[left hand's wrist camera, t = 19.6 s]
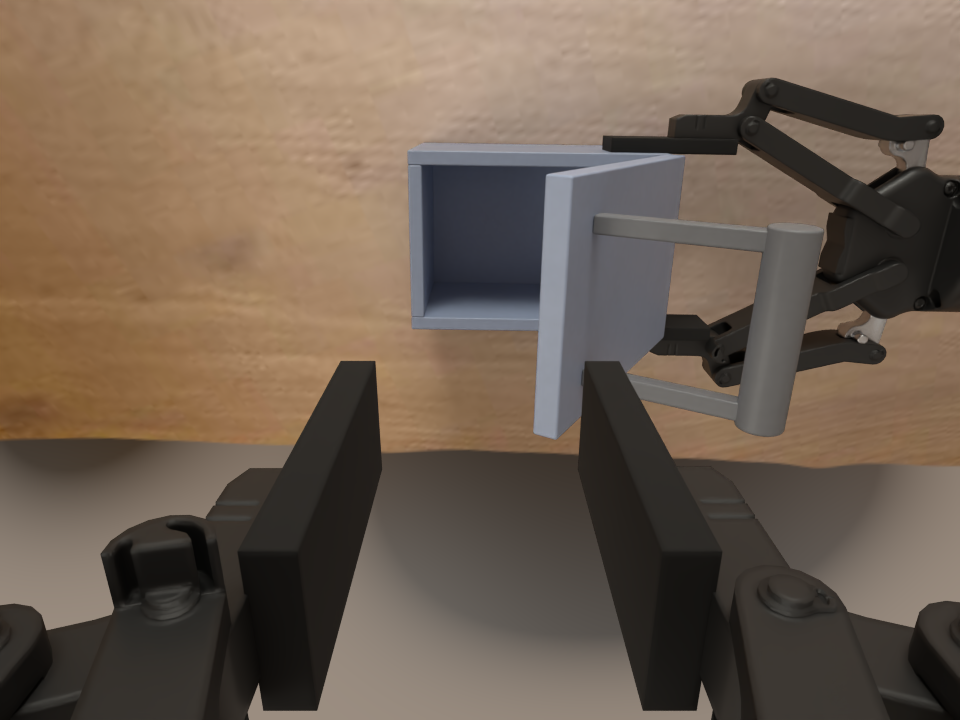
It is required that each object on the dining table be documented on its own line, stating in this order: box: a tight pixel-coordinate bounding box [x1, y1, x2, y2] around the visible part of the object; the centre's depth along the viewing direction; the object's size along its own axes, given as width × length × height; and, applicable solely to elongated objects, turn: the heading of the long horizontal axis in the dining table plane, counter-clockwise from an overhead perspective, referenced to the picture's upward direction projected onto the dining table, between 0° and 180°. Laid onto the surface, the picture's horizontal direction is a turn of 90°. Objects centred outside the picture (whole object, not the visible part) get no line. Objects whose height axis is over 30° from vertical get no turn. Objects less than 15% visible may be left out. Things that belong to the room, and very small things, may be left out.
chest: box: [408, 143, 672, 331], centre depth 39 cm, size 13×10×9 cm
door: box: [533, 155, 824, 439], centre depth 27 cm, size 14×10×8 cm
